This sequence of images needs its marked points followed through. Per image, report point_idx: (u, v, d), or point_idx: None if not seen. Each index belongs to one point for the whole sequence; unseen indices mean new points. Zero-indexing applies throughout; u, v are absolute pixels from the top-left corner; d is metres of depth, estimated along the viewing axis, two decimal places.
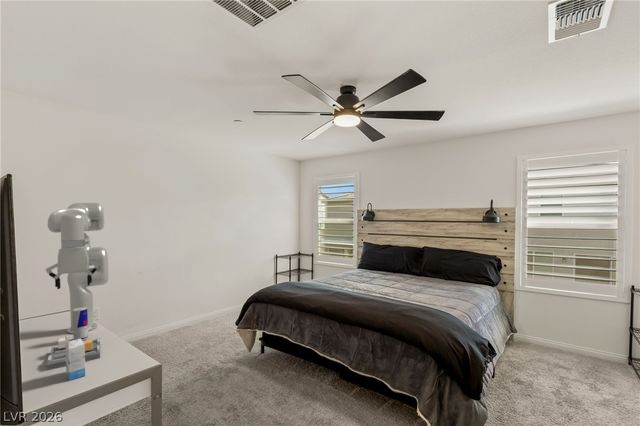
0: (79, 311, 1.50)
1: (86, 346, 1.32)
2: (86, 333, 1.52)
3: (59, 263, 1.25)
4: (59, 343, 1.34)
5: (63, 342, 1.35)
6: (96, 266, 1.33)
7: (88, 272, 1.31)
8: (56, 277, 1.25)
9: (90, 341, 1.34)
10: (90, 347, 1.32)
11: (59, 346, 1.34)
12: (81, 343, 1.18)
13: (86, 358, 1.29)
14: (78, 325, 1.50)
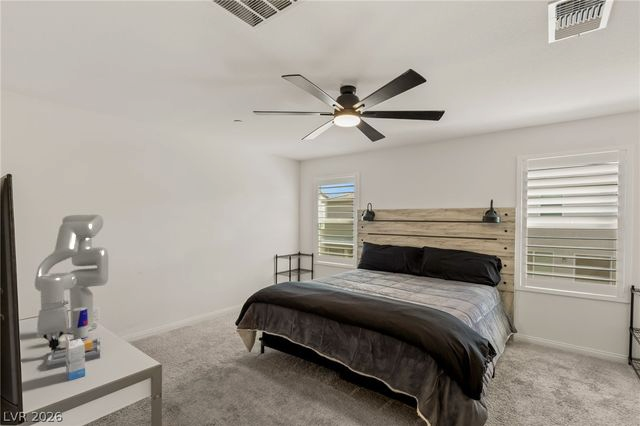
0: (79, 311, 1.50)
1: (86, 346, 1.32)
2: (86, 333, 1.52)
3: (39, 325, 1.31)
4: (61, 343, 1.35)
5: None
6: (65, 331, 1.37)
7: (57, 335, 1.35)
8: (49, 339, 1.33)
9: (90, 341, 1.34)
10: (90, 347, 1.32)
11: (61, 346, 1.35)
12: (81, 343, 1.18)
13: (86, 358, 1.29)
14: (78, 325, 1.50)
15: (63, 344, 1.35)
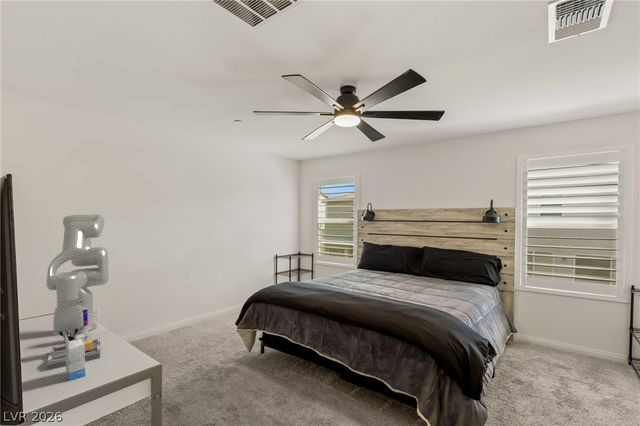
0: None
1: (86, 346, 1.32)
2: (86, 333, 1.52)
3: (55, 322, 1.34)
4: None
5: None
6: (80, 328, 1.40)
7: (72, 333, 1.38)
8: None
9: (90, 341, 1.34)
10: (90, 347, 1.32)
11: None
12: (81, 343, 1.18)
13: (86, 358, 1.29)
14: None
15: None
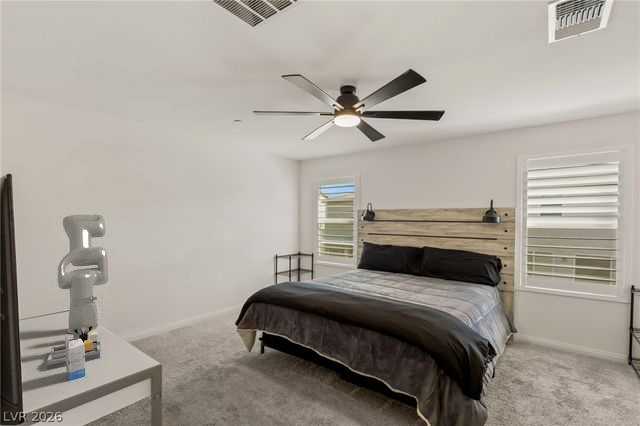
0: None
1: (86, 346, 1.32)
2: None
3: (70, 320, 1.37)
4: (90, 337, 1.41)
5: (94, 336, 1.41)
6: (94, 326, 1.43)
7: (86, 330, 1.41)
8: (80, 333, 1.39)
9: (90, 341, 1.34)
10: (90, 347, 1.32)
11: None
12: (81, 343, 1.18)
13: (86, 358, 1.29)
14: None
15: (92, 338, 1.41)
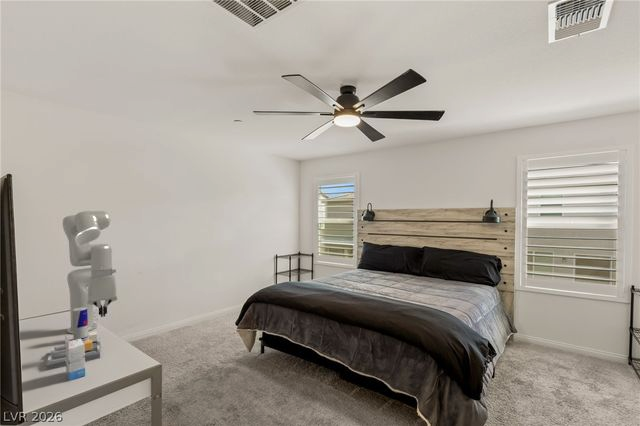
0: (79, 311, 1.50)
1: (86, 346, 1.32)
2: (86, 333, 1.52)
3: (89, 292, 1.33)
4: (90, 337, 1.41)
5: (93, 336, 1.41)
6: (113, 299, 1.39)
7: (106, 303, 1.37)
8: (99, 306, 1.36)
9: (90, 341, 1.34)
10: (90, 347, 1.32)
11: None
12: (81, 343, 1.18)
13: (86, 358, 1.29)
14: (78, 325, 1.50)
15: (92, 338, 1.41)
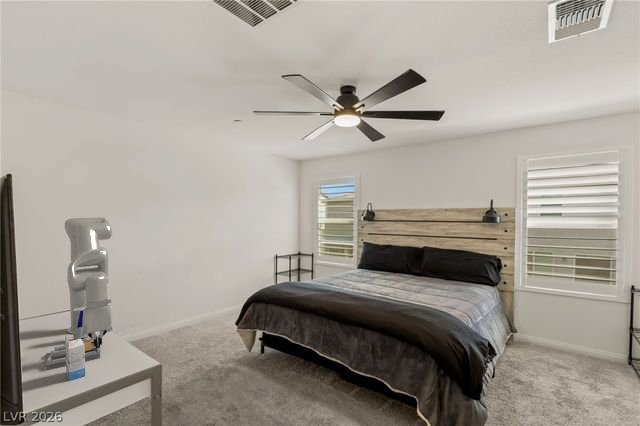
0: (79, 311, 1.50)
1: (85, 346, 1.31)
2: None
3: (84, 324, 1.31)
4: (90, 337, 1.41)
5: None
6: (108, 330, 1.38)
7: (101, 334, 1.35)
8: (94, 337, 1.34)
9: (89, 341, 1.34)
10: (89, 347, 1.32)
11: None
12: (81, 343, 1.18)
13: (86, 358, 1.29)
14: (78, 325, 1.50)
15: None
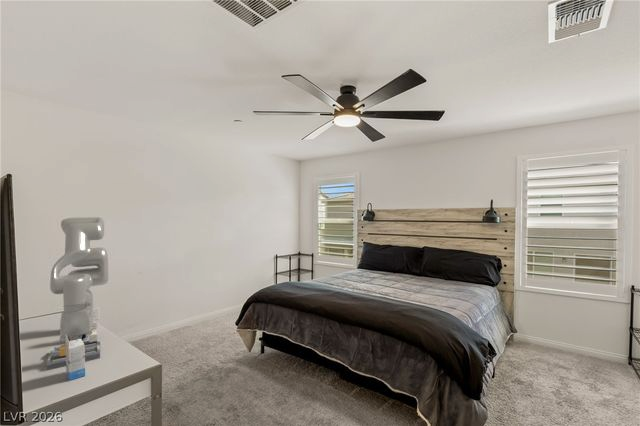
0: None
1: (62, 351, 1.27)
2: None
3: (62, 328, 1.27)
4: (90, 337, 1.41)
5: (93, 336, 1.41)
6: (88, 334, 1.33)
7: (79, 338, 1.31)
8: None
9: None
10: None
11: (90, 340, 1.41)
12: (81, 343, 1.18)
13: (86, 358, 1.29)
14: None
15: (92, 338, 1.41)
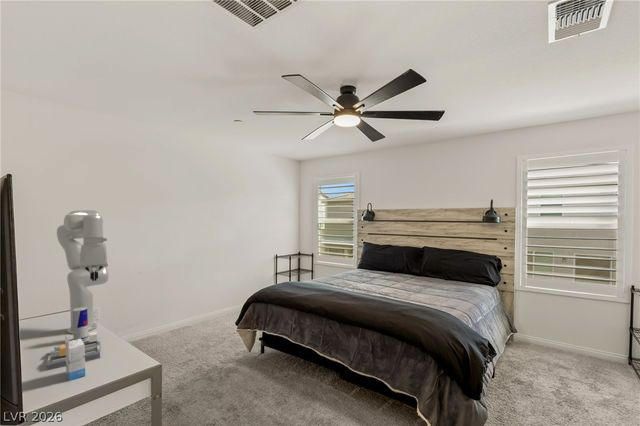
0: (79, 311, 1.50)
1: (62, 351, 1.27)
2: (86, 333, 1.52)
3: (82, 257, 1.44)
4: (90, 337, 1.41)
5: (93, 336, 1.41)
6: (104, 265, 1.50)
7: (97, 268, 1.48)
8: (91, 271, 1.47)
9: None
10: None
11: (90, 340, 1.41)
12: (81, 343, 1.18)
13: (86, 358, 1.29)
14: (78, 325, 1.50)
15: (92, 338, 1.41)
